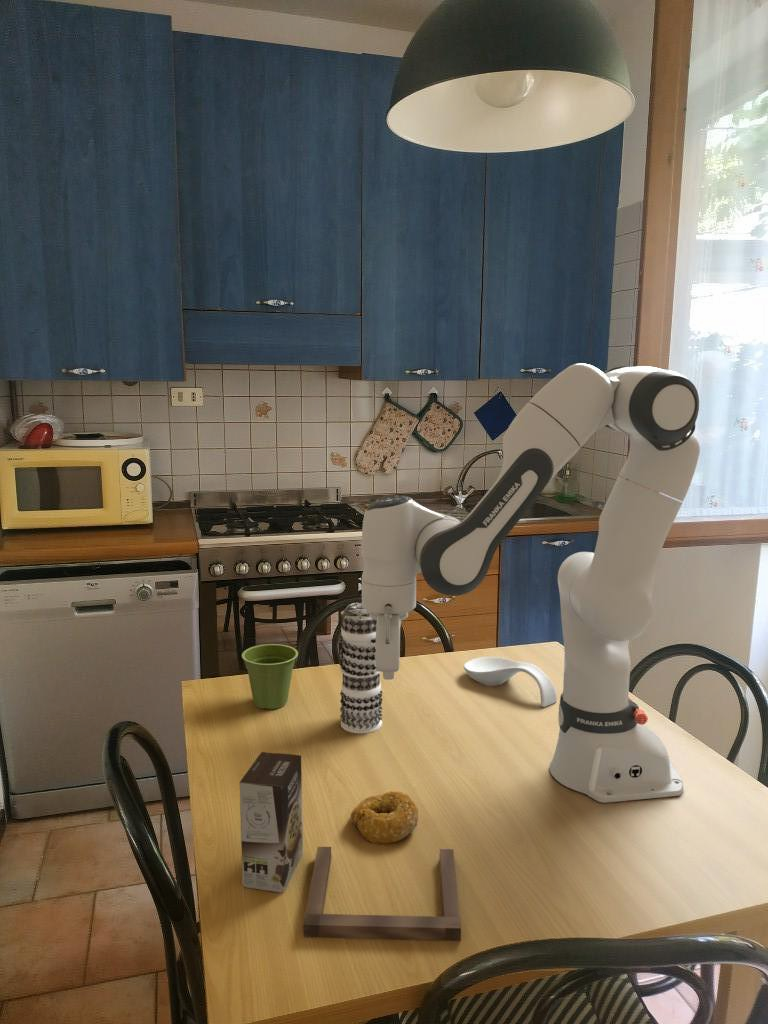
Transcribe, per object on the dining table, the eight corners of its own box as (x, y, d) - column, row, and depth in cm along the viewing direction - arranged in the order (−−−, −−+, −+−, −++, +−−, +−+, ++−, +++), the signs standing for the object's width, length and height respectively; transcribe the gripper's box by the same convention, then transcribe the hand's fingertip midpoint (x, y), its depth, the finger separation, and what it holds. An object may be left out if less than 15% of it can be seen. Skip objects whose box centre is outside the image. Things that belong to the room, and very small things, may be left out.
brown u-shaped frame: (453, 860, 112) (453, 849, 112) (460, 940, 97) (461, 928, 96) (317, 857, 113) (317, 846, 113) (303, 937, 97) (303, 924, 97)
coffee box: (285, 894, 105) (282, 787, 102) (241, 887, 106) (237, 782, 103) (305, 853, 114) (303, 753, 111) (264, 847, 115) (261, 749, 112)
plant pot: (276, 720, 157) (274, 668, 154) (231, 707, 162) (229, 657, 160) (309, 698, 167) (309, 649, 164) (266, 687, 172) (265, 639, 170)
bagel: (371, 801, 128) (371, 775, 127) (429, 822, 122) (429, 795, 121) (337, 832, 119) (337, 805, 118) (398, 856, 114) (398, 828, 113)
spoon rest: (453, 679, 178) (453, 650, 176) (487, 666, 185) (488, 638, 184) (533, 714, 160) (535, 682, 159) (568, 698, 168) (569, 667, 166)
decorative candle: (374, 710, 161) (374, 596, 156) (390, 729, 153) (391, 610, 148) (333, 717, 158) (331, 601, 153) (347, 737, 149) (346, 615, 144)
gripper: (408, 617, 113) (407, 703, 116) (408, 578, 134) (407, 653, 136) (366, 616, 114) (366, 703, 116) (372, 578, 134) (372, 653, 136)
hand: (388, 676), depth 126 cm, fingers closed
